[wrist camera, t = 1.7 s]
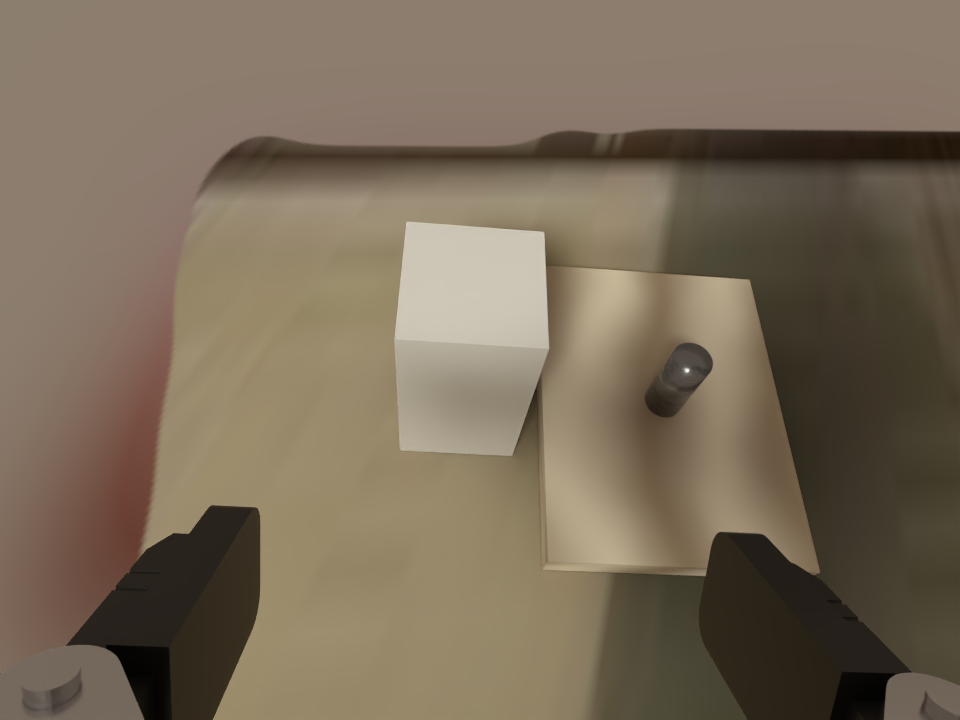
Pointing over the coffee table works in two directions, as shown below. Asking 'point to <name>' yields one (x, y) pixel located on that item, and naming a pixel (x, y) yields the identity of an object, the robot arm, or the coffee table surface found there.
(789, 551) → the stub plate
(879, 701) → the robot arm
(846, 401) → the coffee table surface
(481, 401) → the block
